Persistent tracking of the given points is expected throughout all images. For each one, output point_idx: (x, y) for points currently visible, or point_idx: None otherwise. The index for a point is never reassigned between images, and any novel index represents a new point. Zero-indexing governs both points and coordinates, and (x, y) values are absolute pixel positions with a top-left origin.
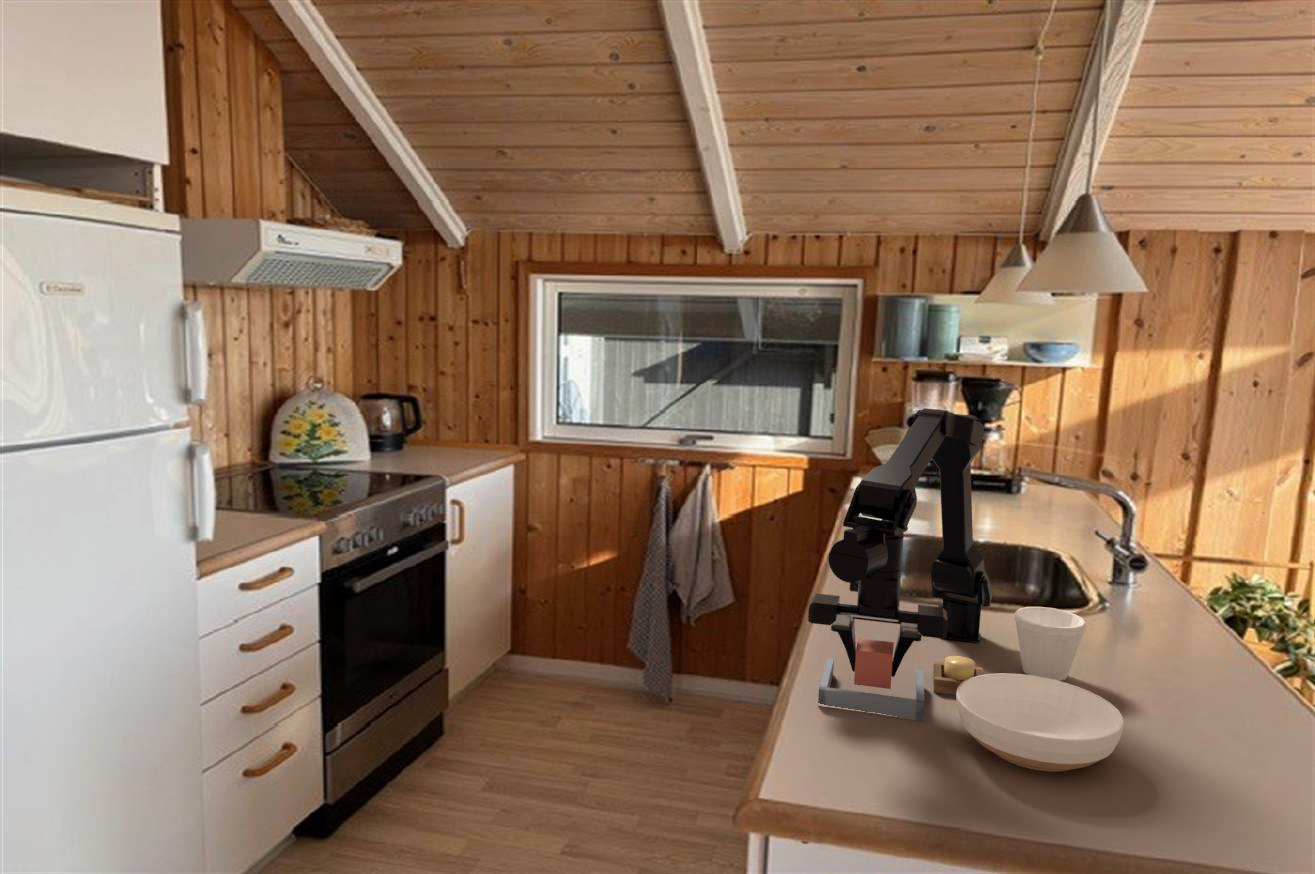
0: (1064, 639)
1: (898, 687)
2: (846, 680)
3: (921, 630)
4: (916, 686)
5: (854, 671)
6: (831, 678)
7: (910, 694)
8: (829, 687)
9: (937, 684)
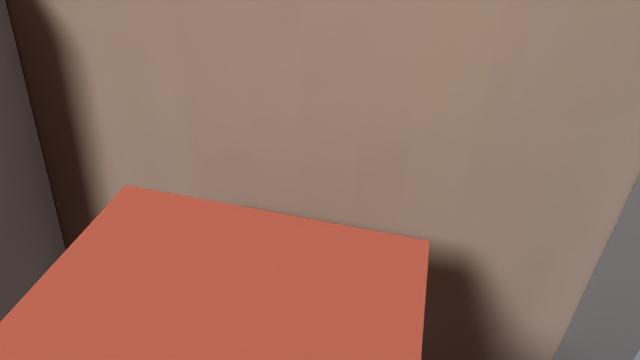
0: None
1: (523, 69)
2: (108, 9)
3: None
4: (622, 337)
5: None
6: (3, 76)
7: (589, 185)
8: (40, 203)
9: None
